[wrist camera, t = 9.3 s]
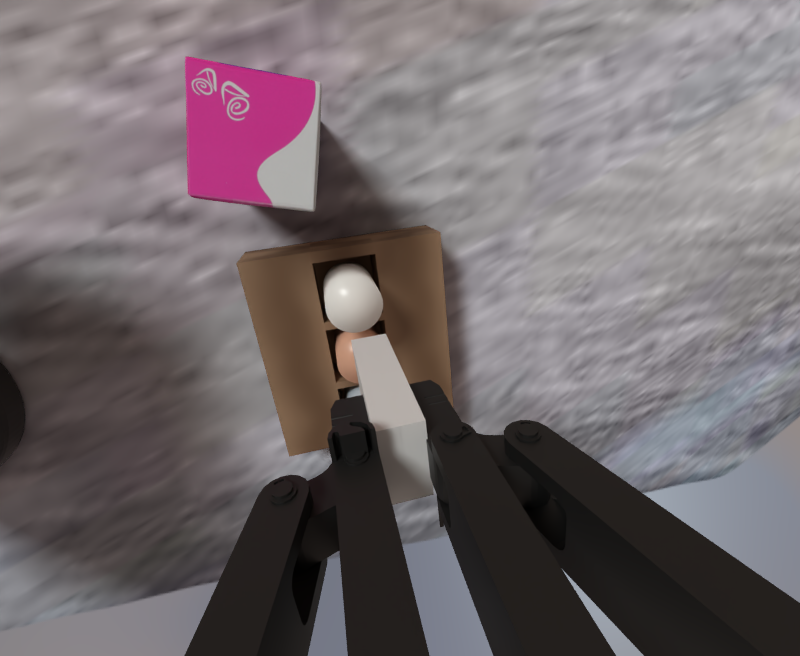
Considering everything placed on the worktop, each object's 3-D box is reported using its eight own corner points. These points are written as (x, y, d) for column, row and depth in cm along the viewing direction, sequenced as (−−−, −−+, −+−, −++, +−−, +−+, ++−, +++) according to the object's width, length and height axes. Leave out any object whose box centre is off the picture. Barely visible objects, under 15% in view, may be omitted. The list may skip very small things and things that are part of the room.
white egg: (327, 313, 30) (330, 337, 26) (318, 265, 29) (320, 282, 24) (375, 304, 30) (386, 327, 26) (368, 257, 29) (378, 273, 25)
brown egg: (337, 359, 34) (341, 388, 29) (330, 320, 32) (333, 343, 28) (379, 351, 34) (389, 378, 30) (374, 312, 33) (383, 334, 29)
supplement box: (320, 114, 28) (326, 81, 18) (315, 203, 30) (317, 220, 20) (231, 98, 27) (180, 52, 16) (231, 192, 29) (186, 204, 18)
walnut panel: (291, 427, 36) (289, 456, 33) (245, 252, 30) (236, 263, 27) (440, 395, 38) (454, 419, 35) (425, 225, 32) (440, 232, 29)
